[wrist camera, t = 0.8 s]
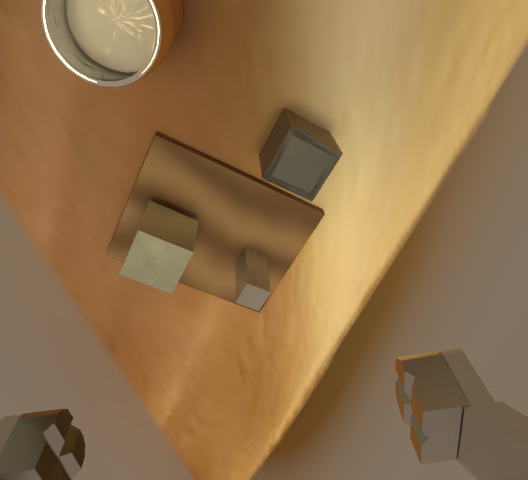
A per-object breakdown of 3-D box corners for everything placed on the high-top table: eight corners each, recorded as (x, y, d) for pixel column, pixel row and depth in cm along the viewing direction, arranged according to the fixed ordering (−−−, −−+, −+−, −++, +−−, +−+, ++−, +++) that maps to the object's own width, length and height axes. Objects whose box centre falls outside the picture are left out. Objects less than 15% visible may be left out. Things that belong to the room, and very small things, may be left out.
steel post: (245, 245, 49) (247, 283, 43) (266, 254, 50) (270, 292, 43) (235, 263, 50) (235, 302, 44) (255, 271, 51) (258, 311, 45)
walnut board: (157, 131, 43) (155, 135, 42) (323, 210, 48) (324, 214, 47) (107, 250, 49) (105, 255, 48) (259, 307, 55) (259, 312, 54)
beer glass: (176, 66, 40) (147, 108, 27) (97, 34, 38) (27, 64, 25) (199, -17, 37) (180, -14, 24) (115, -55, 35) (45, -73, 22)
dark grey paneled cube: (284, 108, 42) (291, 126, 37) (330, 132, 44) (342, 153, 39) (259, 154, 45) (262, 178, 39) (303, 176, 46) (312, 201, 41)
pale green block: (152, 194, 45) (138, 230, 39) (199, 214, 46) (193, 252, 40) (134, 233, 47) (118, 274, 41) (180, 251, 49) (171, 293, 42)
